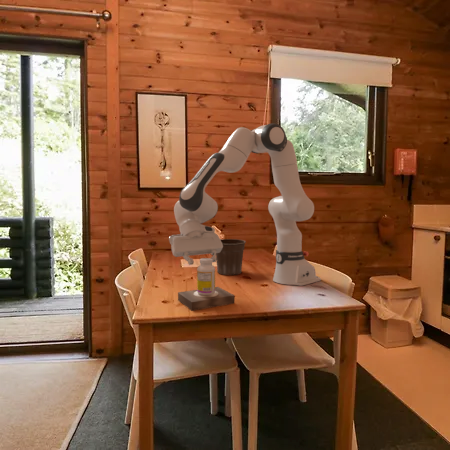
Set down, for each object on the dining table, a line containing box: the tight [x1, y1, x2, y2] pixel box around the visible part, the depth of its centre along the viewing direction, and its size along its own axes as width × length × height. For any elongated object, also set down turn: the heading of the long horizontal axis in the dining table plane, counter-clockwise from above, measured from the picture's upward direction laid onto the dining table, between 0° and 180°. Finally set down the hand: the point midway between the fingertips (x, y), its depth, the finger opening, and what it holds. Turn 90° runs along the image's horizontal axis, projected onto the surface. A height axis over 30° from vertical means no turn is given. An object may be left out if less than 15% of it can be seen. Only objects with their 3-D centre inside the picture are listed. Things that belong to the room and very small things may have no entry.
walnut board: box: [177, 286, 236, 311], centre depth 128 cm, size 17×13×3 cm
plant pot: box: [215, 238, 246, 276], centre depth 174 cm, size 16×16×16 cm
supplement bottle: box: [196, 257, 216, 295], centre depth 127 cm, size 7×7×13 cm
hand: (203, 262), depth 129 cm, fingers open, 8 cm apart
